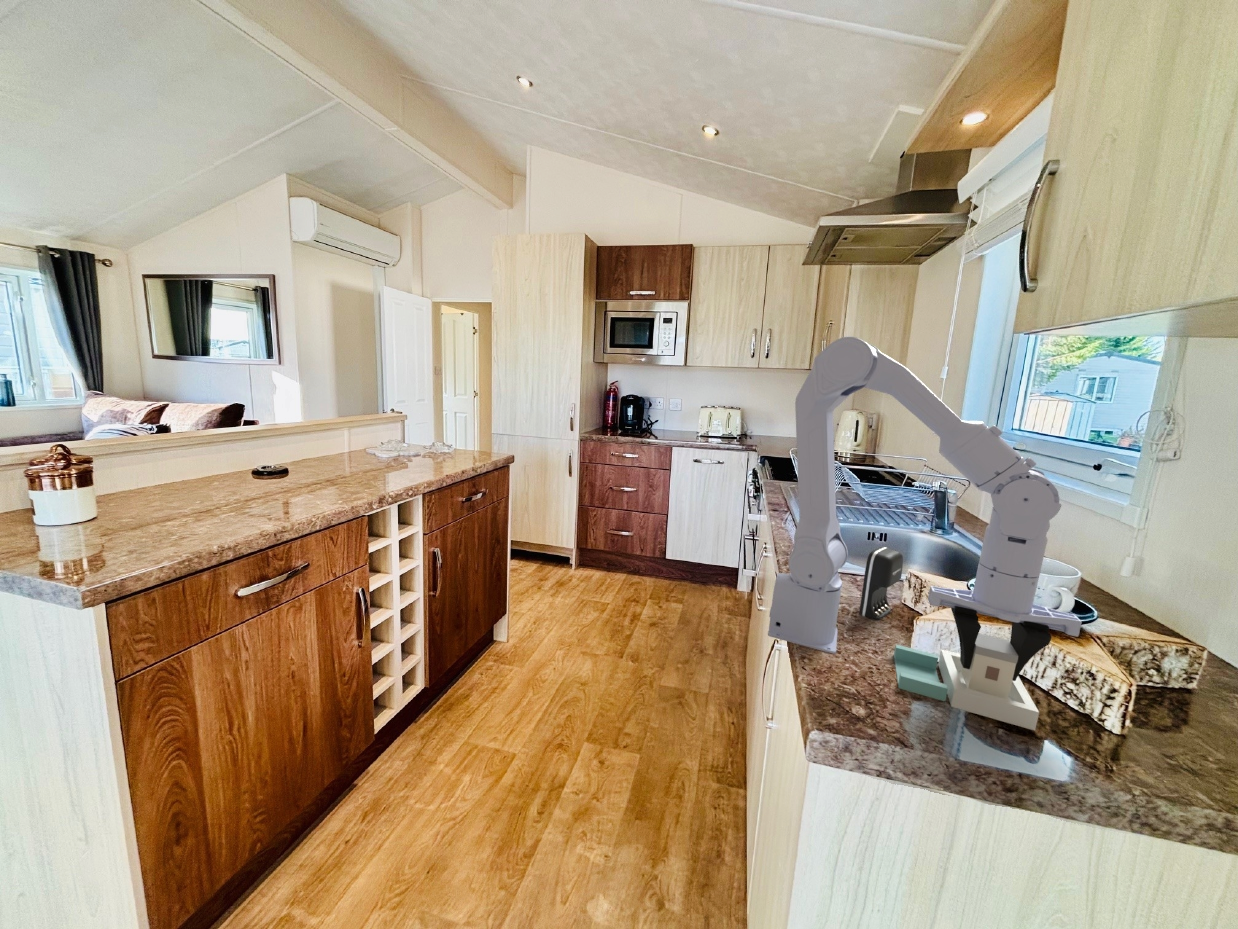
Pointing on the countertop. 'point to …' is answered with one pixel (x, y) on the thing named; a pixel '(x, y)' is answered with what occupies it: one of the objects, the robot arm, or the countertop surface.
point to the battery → (879, 581)
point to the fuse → (991, 666)
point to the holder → (918, 672)
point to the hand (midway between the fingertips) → (986, 670)
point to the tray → (987, 696)
